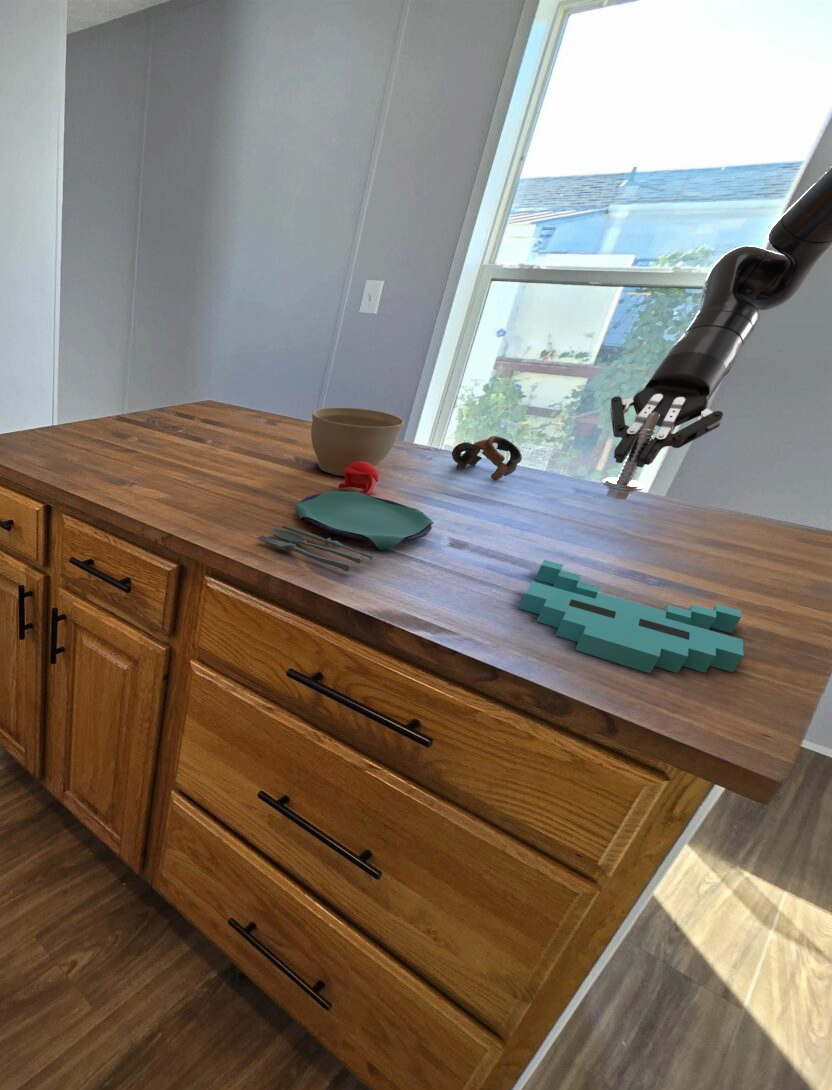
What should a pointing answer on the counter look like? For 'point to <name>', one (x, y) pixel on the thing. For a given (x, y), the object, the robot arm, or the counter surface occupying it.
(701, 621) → the alien figure
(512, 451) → the brown looped twisted part
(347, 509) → the cutlery set
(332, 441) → the planter bowl
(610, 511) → the counter surface
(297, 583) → the counter surface
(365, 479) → the cap
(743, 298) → the robot arm
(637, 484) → the screw
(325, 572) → the counter surface
